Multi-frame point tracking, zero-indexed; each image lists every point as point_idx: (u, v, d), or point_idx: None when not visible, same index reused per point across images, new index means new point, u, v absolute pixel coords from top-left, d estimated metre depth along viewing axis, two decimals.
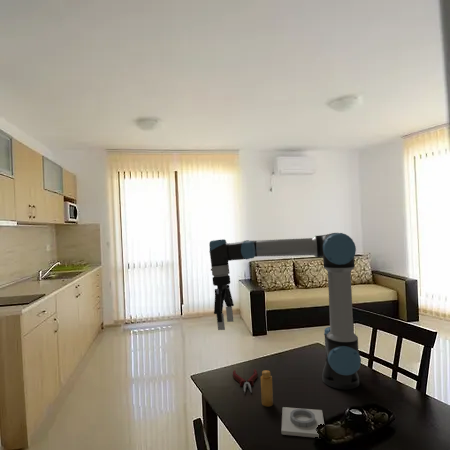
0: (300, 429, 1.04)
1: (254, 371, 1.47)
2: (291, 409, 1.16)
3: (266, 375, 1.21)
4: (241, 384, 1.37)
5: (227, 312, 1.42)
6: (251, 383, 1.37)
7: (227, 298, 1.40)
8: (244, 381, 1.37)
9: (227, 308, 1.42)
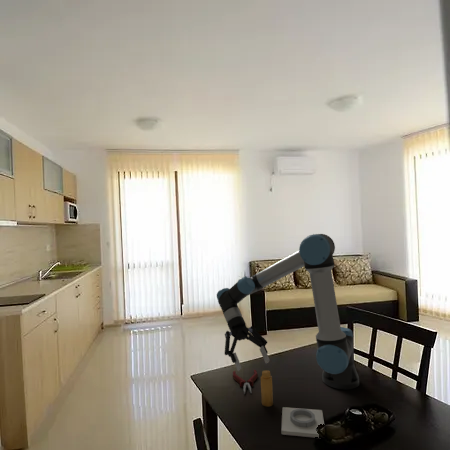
0: (300, 429, 1.04)
1: (254, 372, 1.46)
2: (291, 409, 1.16)
3: (266, 375, 1.21)
4: (241, 385, 1.36)
5: (262, 353, 1.35)
6: (251, 384, 1.36)
7: (252, 339, 1.37)
8: (244, 382, 1.36)
9: (260, 349, 1.36)
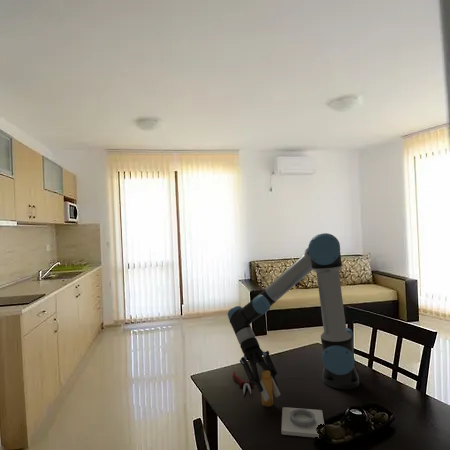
0: (300, 429, 1.04)
1: None
2: (291, 409, 1.16)
3: (266, 375, 1.21)
4: (241, 385, 1.36)
5: None
6: (251, 384, 1.36)
7: (263, 365, 1.27)
8: (244, 382, 1.36)
9: None
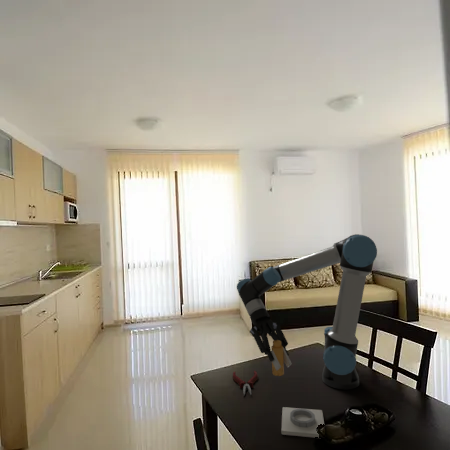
0: (300, 429, 1.04)
1: (254, 373, 1.45)
2: (291, 409, 1.16)
3: (277, 344, 1.19)
4: (241, 386, 1.35)
5: None
6: (251, 385, 1.35)
7: (274, 335, 1.25)
8: (244, 383, 1.35)
9: None
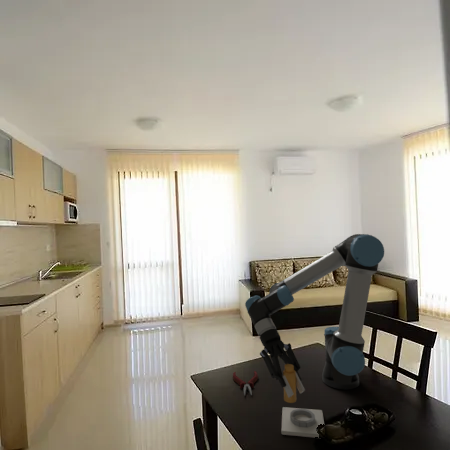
0: (300, 429, 1.04)
1: (254, 373, 1.45)
2: (291, 409, 1.16)
3: (289, 369, 1.12)
4: (241, 386, 1.35)
5: None
6: (251, 385, 1.35)
7: (285, 358, 1.18)
8: (244, 383, 1.35)
9: None
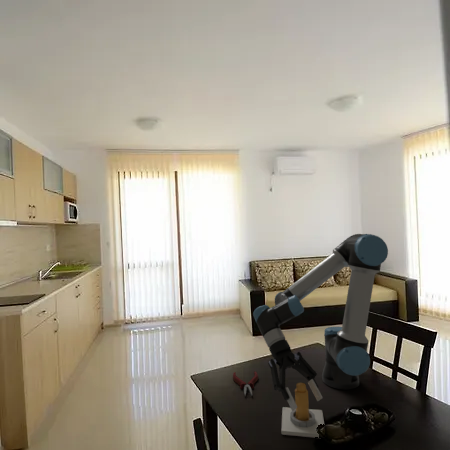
0: (300, 429, 1.04)
1: (254, 373, 1.44)
2: None
3: (302, 388, 1.08)
4: (241, 387, 1.34)
5: (311, 388, 1.12)
6: (252, 386, 1.35)
7: (299, 368, 1.15)
8: (244, 384, 1.35)
9: (309, 383, 1.13)
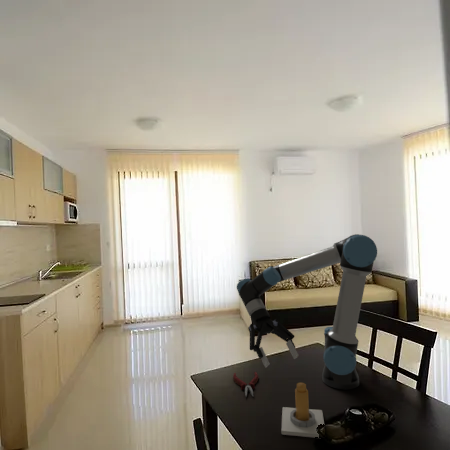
0: (300, 429, 1.04)
1: (255, 374, 1.44)
2: (291, 409, 1.16)
3: (302, 388, 1.08)
4: (242, 388, 1.34)
5: (289, 348, 1.24)
6: (252, 386, 1.34)
7: (278, 332, 1.26)
8: (245, 384, 1.34)
9: (287, 344, 1.25)
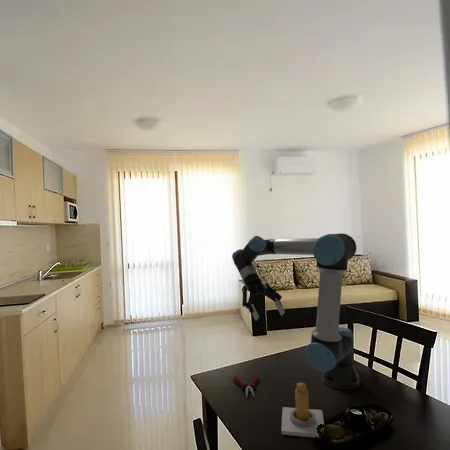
0: (300, 429, 1.04)
1: (255, 374, 1.43)
2: (291, 409, 1.16)
3: (302, 388, 1.08)
4: (243, 388, 1.33)
5: (277, 307, 1.43)
6: (253, 387, 1.33)
7: (267, 294, 1.45)
8: (246, 385, 1.33)
9: (275, 303, 1.44)
